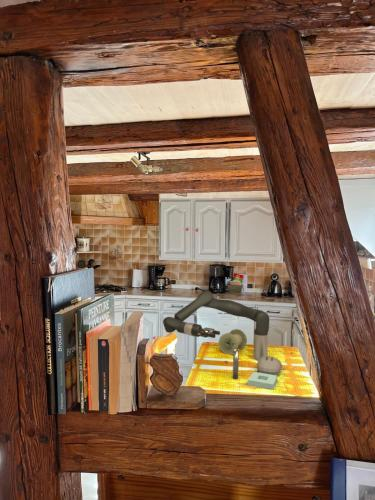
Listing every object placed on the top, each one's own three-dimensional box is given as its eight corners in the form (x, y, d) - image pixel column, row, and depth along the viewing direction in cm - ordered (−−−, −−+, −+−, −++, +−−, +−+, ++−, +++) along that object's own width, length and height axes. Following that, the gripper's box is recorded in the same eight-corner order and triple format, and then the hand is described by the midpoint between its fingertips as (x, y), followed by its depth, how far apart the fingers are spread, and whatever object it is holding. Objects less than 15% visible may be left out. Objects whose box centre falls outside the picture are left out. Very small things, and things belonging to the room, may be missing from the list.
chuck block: (253, 376, 201) (253, 371, 201) (277, 380, 195) (277, 375, 195) (247, 385, 188) (247, 379, 188) (273, 389, 182) (273, 384, 182)
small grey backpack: (258, 365, 221) (255, 376, 202) (258, 352, 221) (255, 362, 202) (281, 367, 217) (281, 379, 198) (282, 355, 217) (281, 365, 198)
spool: (237, 356, 238) (237, 335, 238) (218, 352, 246) (218, 332, 246) (246, 350, 252) (246, 330, 252) (228, 347, 260) (228, 327, 260)
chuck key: (234, 375, 202) (235, 346, 202) (239, 376, 200) (240, 347, 200) (231, 379, 195) (231, 349, 195) (236, 380, 194) (237, 350, 194)
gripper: (188, 325, 202) (214, 330, 195) (197, 321, 215) (221, 326, 208) (187, 338, 202) (213, 343, 195) (196, 333, 215) (220, 338, 208)
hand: (217, 334), depth 202 cm, fingers open, 8 cm apart
